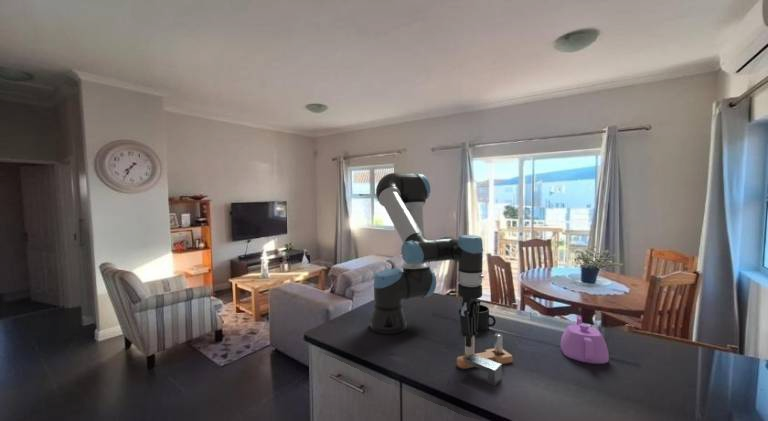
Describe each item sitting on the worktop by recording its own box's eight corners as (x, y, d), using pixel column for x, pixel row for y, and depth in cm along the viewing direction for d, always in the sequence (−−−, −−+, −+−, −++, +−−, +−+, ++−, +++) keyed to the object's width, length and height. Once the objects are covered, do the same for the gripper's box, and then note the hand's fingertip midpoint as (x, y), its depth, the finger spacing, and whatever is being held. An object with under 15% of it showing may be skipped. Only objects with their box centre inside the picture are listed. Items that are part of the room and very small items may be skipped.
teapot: (599, 346, 112) (599, 316, 112) (616, 376, 94) (616, 340, 93) (556, 340, 117) (557, 311, 117) (564, 368, 99) (565, 333, 98)
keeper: (465, 374, 94) (465, 359, 94) (472, 368, 97) (472, 353, 97) (494, 386, 88) (494, 370, 87) (501, 379, 91) (501, 364, 91)
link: (500, 353, 106) (500, 347, 106) (512, 362, 100) (512, 355, 100) (452, 361, 101) (452, 355, 101) (462, 371, 95) (462, 365, 95)
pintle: (493, 359, 102) (493, 335, 102) (496, 356, 104) (496, 333, 103) (500, 362, 100) (500, 337, 100) (503, 359, 102) (503, 335, 102)
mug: (493, 338, 120) (493, 314, 119) (462, 332, 125) (462, 309, 125) (497, 329, 128) (497, 307, 128) (467, 323, 134) (467, 302, 133)
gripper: (474, 290, 94) (473, 367, 95) (488, 280, 104) (487, 349, 106) (450, 286, 98) (450, 359, 100) (466, 277, 109) (466, 343, 110)
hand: (469, 354), depth 103 cm, fingers closed
